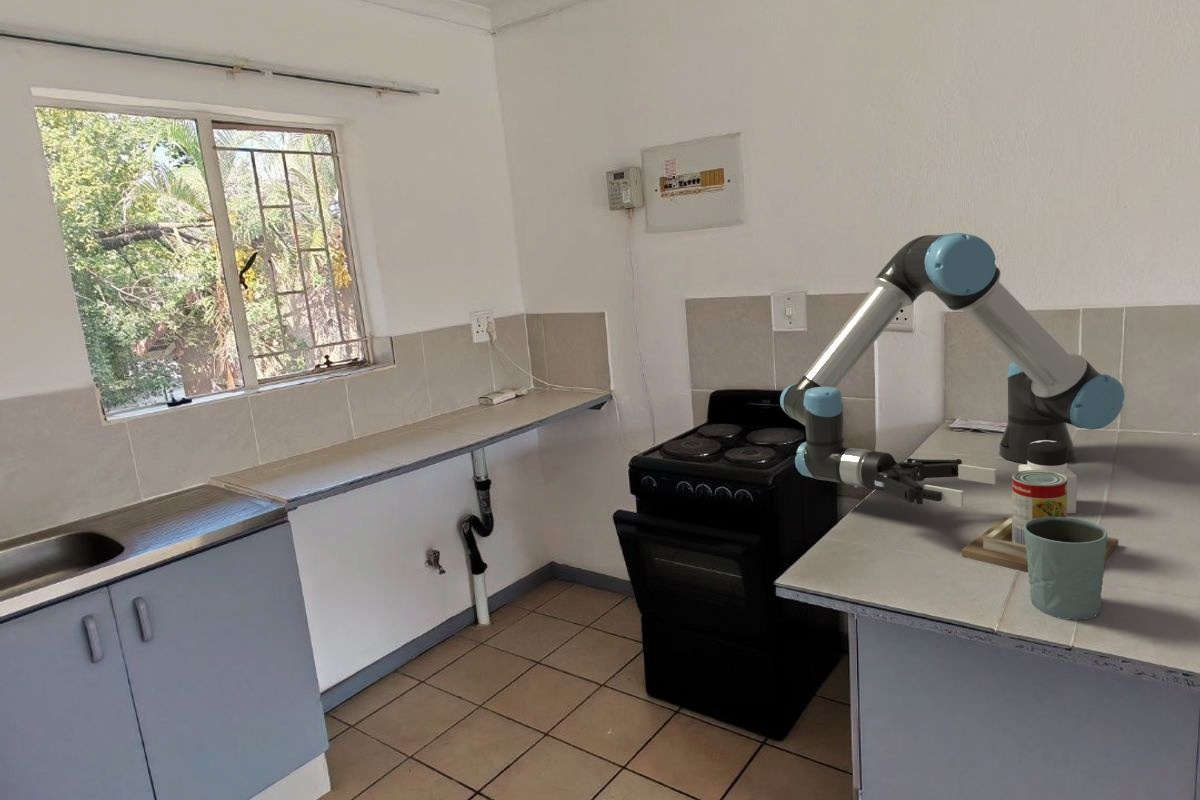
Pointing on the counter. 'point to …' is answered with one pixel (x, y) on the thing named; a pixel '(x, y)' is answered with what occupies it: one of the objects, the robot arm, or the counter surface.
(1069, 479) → the container
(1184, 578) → the counter surface
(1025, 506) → the canned food
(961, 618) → the counter surface
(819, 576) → the counter surface
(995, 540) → the collar board
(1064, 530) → the green plant pot
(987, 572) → the counter surface
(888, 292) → the robot arm
